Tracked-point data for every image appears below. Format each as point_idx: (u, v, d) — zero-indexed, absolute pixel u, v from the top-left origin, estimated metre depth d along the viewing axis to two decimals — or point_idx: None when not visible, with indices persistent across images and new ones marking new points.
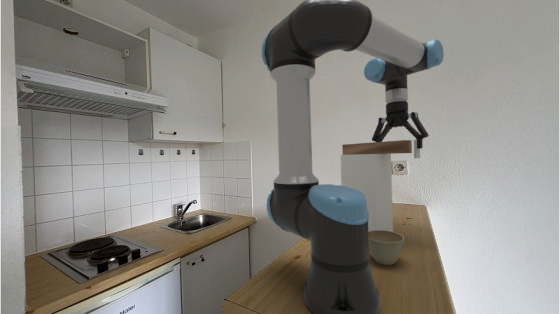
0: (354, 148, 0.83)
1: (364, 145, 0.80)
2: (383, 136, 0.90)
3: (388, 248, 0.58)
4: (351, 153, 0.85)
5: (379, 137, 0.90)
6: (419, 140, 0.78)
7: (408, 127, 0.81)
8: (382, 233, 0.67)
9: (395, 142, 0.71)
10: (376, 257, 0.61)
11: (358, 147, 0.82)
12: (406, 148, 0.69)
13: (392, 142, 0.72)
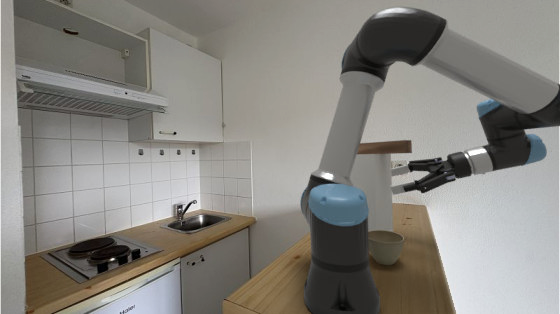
0: None
1: (364, 145, 0.80)
2: (416, 167, 0.76)
3: (388, 248, 0.58)
4: None
5: (413, 163, 0.77)
6: (414, 185, 0.65)
7: (430, 174, 0.66)
8: (382, 233, 0.67)
9: (395, 142, 0.71)
10: (376, 257, 0.61)
11: None
12: (406, 148, 0.69)
13: (392, 142, 0.72)
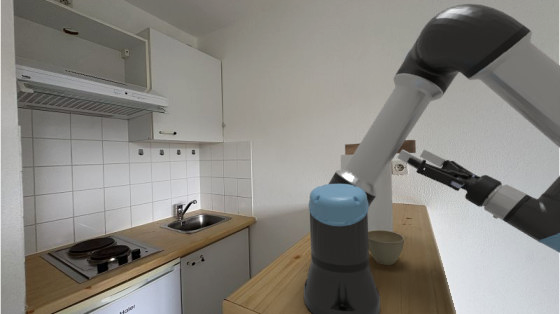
0: None
1: None
2: (449, 167, 0.66)
3: (388, 248, 0.58)
4: None
5: (451, 163, 0.66)
6: (419, 162, 0.60)
7: (444, 170, 0.58)
8: (382, 233, 0.67)
9: None
10: (376, 257, 0.61)
11: None
12: (411, 148, 0.69)
13: None
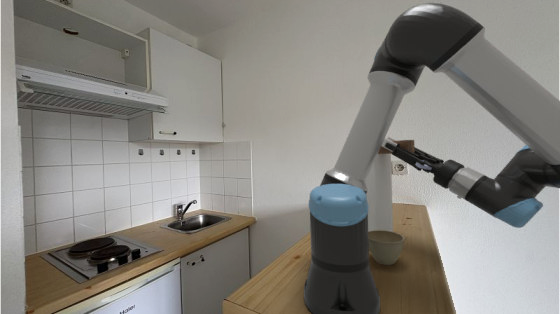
0: None
1: None
2: None
3: (388, 248, 0.58)
4: None
5: None
6: (394, 146, 0.69)
7: (414, 154, 0.66)
8: (382, 233, 0.67)
9: (398, 142, 0.70)
10: (376, 257, 0.61)
11: None
12: (409, 148, 0.68)
13: (395, 142, 0.71)
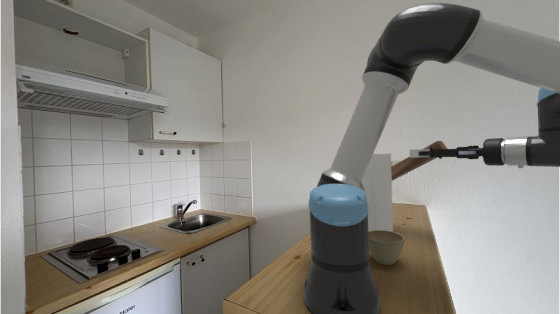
0: (392, 171, 0.84)
1: (400, 164, 0.82)
2: None
3: (388, 248, 0.58)
4: None
5: None
6: (428, 151, 0.73)
7: None
8: (382, 233, 0.67)
9: (429, 147, 0.74)
10: (376, 257, 0.61)
11: (395, 169, 0.83)
12: (443, 147, 0.71)
13: (426, 148, 0.74)
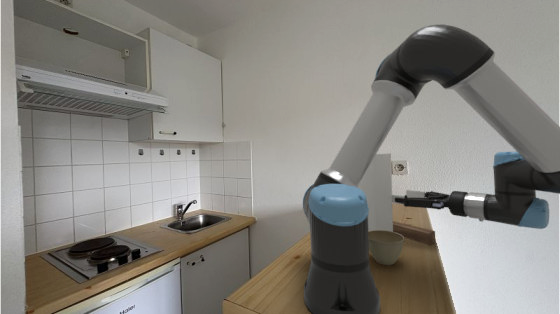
0: None
1: None
2: None
3: (388, 248, 0.58)
4: None
5: (430, 192, 0.82)
6: (403, 198, 0.75)
7: (423, 198, 0.73)
8: (382, 233, 0.67)
9: (419, 232, 0.76)
10: (376, 257, 0.61)
11: None
12: (430, 240, 0.74)
13: (416, 231, 0.76)
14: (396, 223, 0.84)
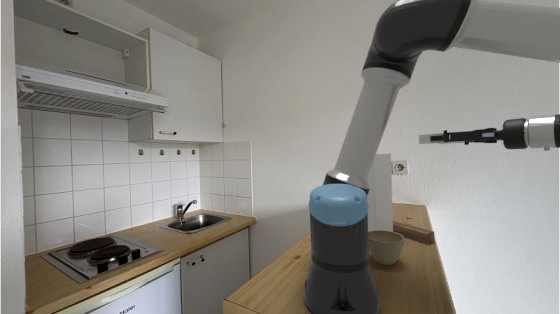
0: None
1: None
2: None
3: (388, 248, 0.58)
4: None
5: None
6: (441, 135, 0.62)
7: None
8: (382, 233, 0.67)
9: (418, 232, 0.75)
10: (376, 257, 0.61)
11: None
12: (429, 241, 0.73)
13: (415, 231, 0.76)
14: (396, 223, 0.84)
